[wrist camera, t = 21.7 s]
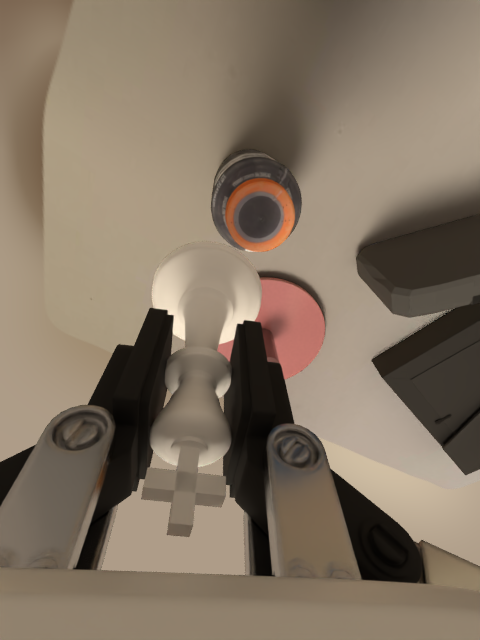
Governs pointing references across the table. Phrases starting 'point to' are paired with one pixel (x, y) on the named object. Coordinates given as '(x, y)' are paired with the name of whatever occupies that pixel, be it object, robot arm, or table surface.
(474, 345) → the picture frame
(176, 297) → the chess piece
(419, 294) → the handheld gaming console
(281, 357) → the pink disc with peg
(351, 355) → the table surface
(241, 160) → the pill bottle
